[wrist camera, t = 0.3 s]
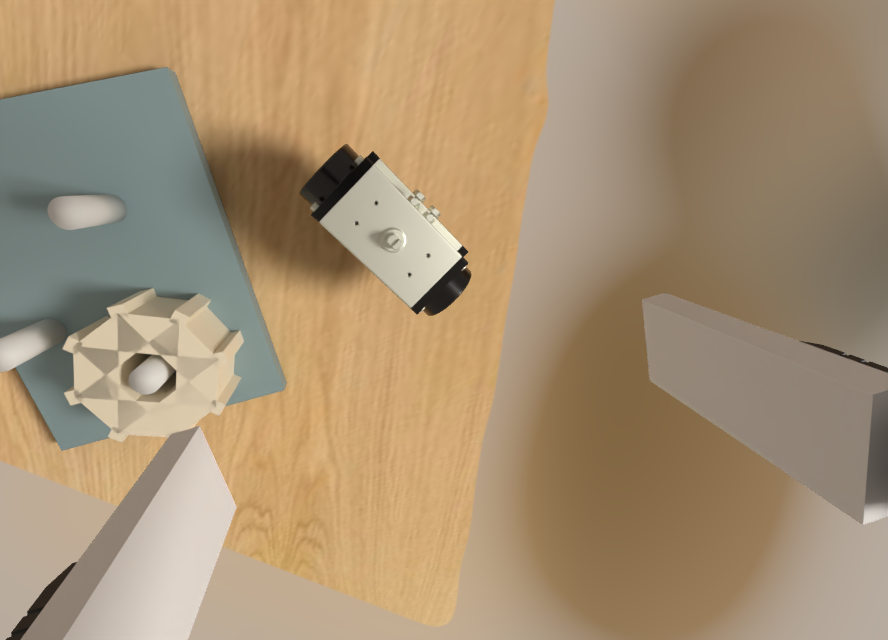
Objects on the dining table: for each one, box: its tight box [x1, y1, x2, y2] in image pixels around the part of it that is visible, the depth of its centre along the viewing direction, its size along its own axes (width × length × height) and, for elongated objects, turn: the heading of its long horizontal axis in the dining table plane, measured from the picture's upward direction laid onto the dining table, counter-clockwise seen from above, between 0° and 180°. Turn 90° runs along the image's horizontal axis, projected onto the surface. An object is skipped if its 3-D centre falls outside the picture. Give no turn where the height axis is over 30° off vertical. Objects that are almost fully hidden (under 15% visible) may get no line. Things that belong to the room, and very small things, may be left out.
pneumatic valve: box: [300, 144, 471, 316], centre depth 33 cm, size 6×12×12 cm, turn 44°
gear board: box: [0, 67, 286, 451], centre depth 33 cm, size 25×18×7 cm
